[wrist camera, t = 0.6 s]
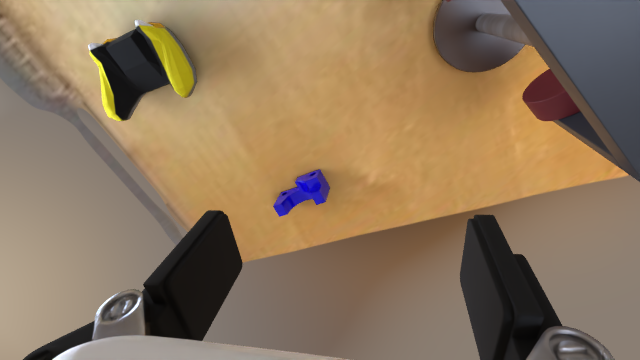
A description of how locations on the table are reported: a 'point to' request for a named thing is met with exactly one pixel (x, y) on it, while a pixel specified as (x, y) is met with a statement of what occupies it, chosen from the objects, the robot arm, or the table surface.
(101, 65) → the gaming controller
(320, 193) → the cable holder
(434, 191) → the table surface
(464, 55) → the stand
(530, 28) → the headset
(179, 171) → the table surface
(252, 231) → the table surface
